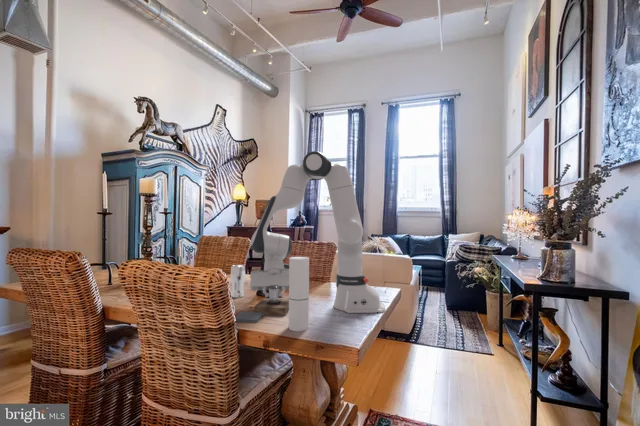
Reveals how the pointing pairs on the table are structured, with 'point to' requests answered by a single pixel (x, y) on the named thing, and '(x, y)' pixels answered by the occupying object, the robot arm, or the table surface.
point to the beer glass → (237, 280)
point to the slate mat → (249, 316)
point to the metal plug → (274, 295)
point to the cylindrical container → (298, 293)
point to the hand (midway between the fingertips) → (273, 297)
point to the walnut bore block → (272, 307)
